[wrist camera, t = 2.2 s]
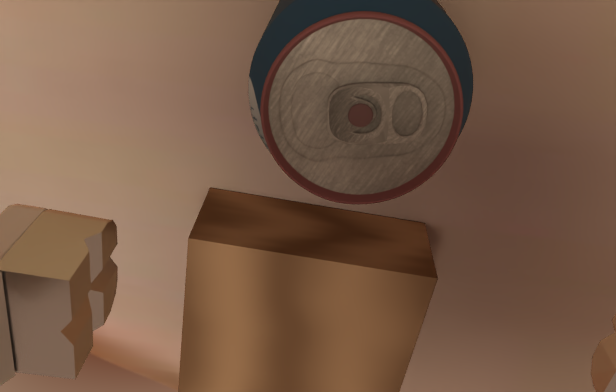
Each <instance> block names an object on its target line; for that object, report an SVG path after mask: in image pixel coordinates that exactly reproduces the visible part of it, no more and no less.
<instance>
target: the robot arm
mask: <svg viewBox="0 0 616 392" xmlns="http://www.w3.org/2000/svg"><path fill="white" fill-rule="evenodd" d="M116 245H117V227H116V224H115V223H114V221H113V220H109V219H103V218H97V217H92V216H86V215H81V214H75V213H69V212H64V211H58V210H52V209H49V210H48V209H46V208H41V207H34V206H28V205H21V204H14V205H10V206H8V207H7V208H6V209H5V210H4V211H3V212H2V213H1V214H0V386H1V385H2V384H4V383H5V382H7V381H8V380H10V379H11V378H13V377H14V376H15V372H17V373H25V374H35V375H43V376H51V377H60V378H68V379H76V377H77V375H78V374H79V372H80V370H81V368H82V366H83V364H84V362H85V360H86V358H87V356H88V354H89V353H90V351H91V349H92V347H93V331H94V330H96V329H97V328H99V327H101V326H103V325H104V323H105V321H106V319H107V317H108V315H109V313H110V311H111V308H112V304H113V301H114V297H115V294H116V287H117V266H116V264H115V263H114V262H113V260H112V259H111V258H110V255H111V254H112V252H113V250H114V248H115V247H116ZM612 323H613V327H614V330H615V332H614V333H613V334H611V335H609V336H608V337H606V338H604V339H603V340H601V341H600V342H599V344H598V346H597V348H596V350H595V352H594V354H593V356H592V366H591V376H592V381H593V386H594V388H595V390H596V392H616V314H615V316H614V317H613V319H612Z"/></svg>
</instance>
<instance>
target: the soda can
mask: <svg viewBox="0 0 616 392" xmlns="http://www.w3.org/2000/svg"><path fill="white" fill-rule="evenodd" d="M472 93H473V74H472V66H471V61H470V57H469V53H468V50H467V48H466V45H465V43H464V40H463V38H462V36H461V34H460V33H459V31H458V29H457V28H456V26H455V25H454V23H453V22H452V20H451V19H450V18H449V16H448V15H447V14H446V12H445V11H444V10H443V8H442V7H441V6H440V4H439V3H438V2H437V0H280V1H279V3H278V5H277V7H276V10H275V12H274V14H273V16H272V18H271V20H270V22H269V24H268V26H267V28H266V30H265V32H264V34H263V36H262V38H261V40H260V42H259V44H258V46H257V48H256V51H255V54H254V56H253V60H252V63H251V68H250V73H249V84H248V94H249V104H250V110H251V114H252V118H253V121H254V124H255V127H256V129H257V131H258V133H259V136H260V138H261V139H262V141H263V143H264V144H265V146H266V147H267V149H268V150H269V151H270V153H271V154H272V156H273V157H274V159H275V161H276V162H277V164H278V165H279V166H280V167H281V169H282V170H283V171H284V172H285V173H286V174H287V175H288V176H289V177H290V178H291V179H292V180H293V181H295V182H296V183H297V184H298V185H300V186H301V187H303V188H304V189H306V190H307V191H309V192H311V193H313V194H315V195H317V196H319V197H321V198H324V199H327V200H330V201H334V202H339V203H345V204H371V203H378V202H383V201H387V200H390V199H394V198H397V197H399V196H402V195H404V194H406V193H408V192H410V191H412V190H414V189H415V188H417V187H418V186H420V185H421V184H423V183H424V182H425V181H427V180H428V179H429V178H430V177H431V176H432V175H433V174H434V173H435V172H436V171H437V170H438V169H439V168H440V167H441V166H442V165H443V163H444V162H445V161H446V159H447V158H448V156H449V155H450V153H451V151H452V149H453V147H454V145H455V143H456V141H457V138H458V137H459V135H460V133H461V131H462V129H463V127H464V125H465V122H466V120H467V117H468V114H469V110H470V106H471V101H472Z"/></svg>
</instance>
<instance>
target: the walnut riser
mask: <svg viewBox="0 0 616 392" xmlns="http://www.w3.org/2000/svg"><path fill="white" fill-rule="evenodd" d="M437 280H438V277H437V273H436V269H435V264H434V260H433V256H432V252H431V247H430V243H429V239H428V235H427V230H426V226H425V223H421V222H415V221H408V220H402V219H396V218H390V217H384V216H378V215H372V214H366V213H360V212H354V211H348V210H342V209H336V208H330V207H324V206H318V205H312V204H305V203H299V202H293V201H287V200H281V199H275V198H269V197H263V196H257V195H251V194H245V193H239V192H233V191H227V190H221V189H215V188H210V189H209V191H208V194H207V196H206V198H205V201H204V203H203V205H202V208H201V210H200V212H199V215H198V217H197V219H196V222H195V224H194V226H193V229H192V231H191V233H190V236H189V238H188V253H187V268H186V283H185V298H184V313H183V328H182V343H181V358H180V373H179V388H178V392H399V391H400V388H401V385H402V382H403V379H404V376H405V373H406V370H407V367H408V365H409V362H410V359H411V356H412V353H413V350H414V347H415V344H416V341H417V338H418V335H419V332H420V329H421V327H422V324H423V321H424V318H425V315H426V312H427V309H428V306H429V303H430V300H431V297H432V294H433V291H434V288H435V286H436V283H437Z"/></svg>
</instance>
